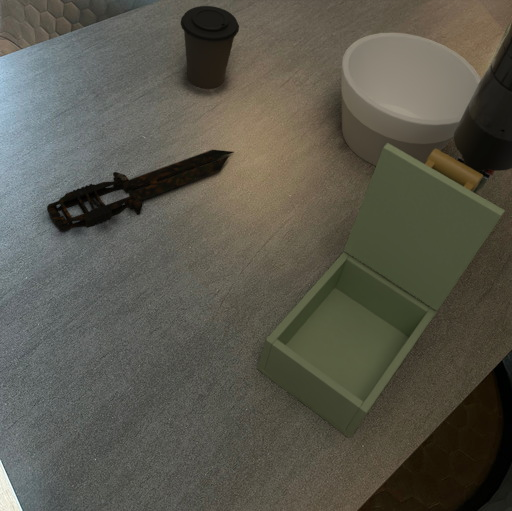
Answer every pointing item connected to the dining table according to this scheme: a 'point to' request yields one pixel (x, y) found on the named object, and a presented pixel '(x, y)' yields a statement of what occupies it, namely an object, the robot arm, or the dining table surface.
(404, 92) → the bowl
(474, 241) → the lid
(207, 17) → the coffee cup
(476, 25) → the dining table surface
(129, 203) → the knife
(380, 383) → the chest
